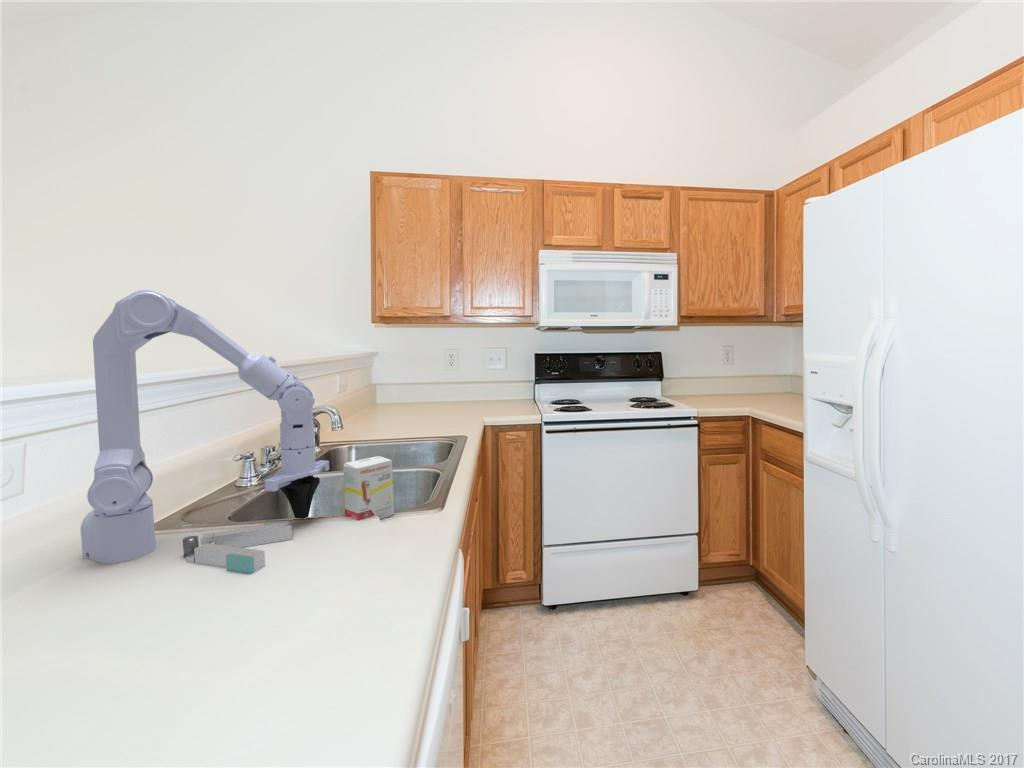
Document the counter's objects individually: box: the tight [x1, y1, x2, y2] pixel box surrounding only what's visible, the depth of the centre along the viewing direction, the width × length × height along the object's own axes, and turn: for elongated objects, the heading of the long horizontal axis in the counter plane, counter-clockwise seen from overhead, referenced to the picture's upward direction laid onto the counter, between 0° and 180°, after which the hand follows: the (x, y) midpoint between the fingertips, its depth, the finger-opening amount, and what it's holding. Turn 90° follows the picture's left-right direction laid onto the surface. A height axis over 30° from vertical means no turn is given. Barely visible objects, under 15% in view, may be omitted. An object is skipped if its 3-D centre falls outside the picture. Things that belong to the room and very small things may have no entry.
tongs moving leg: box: [200, 519, 294, 548], centre depth 76 cm, size 13×3×2 cm, turn 112°
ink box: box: [343, 455, 395, 521], centre depth 90 cm, size 9×5×12 cm, turn 141°
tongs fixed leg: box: [182, 535, 266, 575], centre depth 69 cm, size 16×4×3 cm, turn 74°
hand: (301, 517), depth 85 cm, fingers closed
